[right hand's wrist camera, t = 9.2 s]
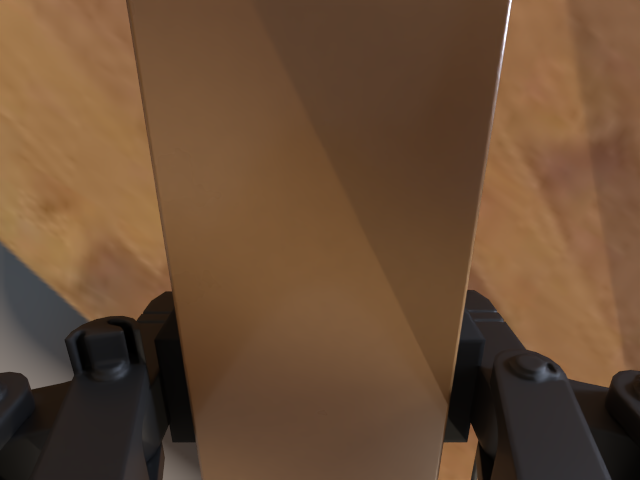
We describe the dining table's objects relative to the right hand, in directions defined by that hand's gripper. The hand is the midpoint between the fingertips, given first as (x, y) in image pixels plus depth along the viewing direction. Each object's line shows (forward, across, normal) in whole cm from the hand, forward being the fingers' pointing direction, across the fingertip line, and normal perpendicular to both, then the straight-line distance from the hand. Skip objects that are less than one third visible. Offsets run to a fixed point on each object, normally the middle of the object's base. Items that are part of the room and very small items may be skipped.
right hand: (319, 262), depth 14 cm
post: (0, 0, -29) cm, 29 cm away
